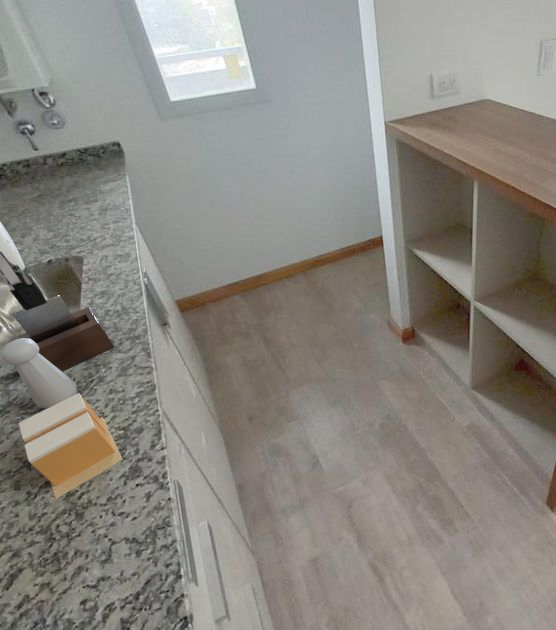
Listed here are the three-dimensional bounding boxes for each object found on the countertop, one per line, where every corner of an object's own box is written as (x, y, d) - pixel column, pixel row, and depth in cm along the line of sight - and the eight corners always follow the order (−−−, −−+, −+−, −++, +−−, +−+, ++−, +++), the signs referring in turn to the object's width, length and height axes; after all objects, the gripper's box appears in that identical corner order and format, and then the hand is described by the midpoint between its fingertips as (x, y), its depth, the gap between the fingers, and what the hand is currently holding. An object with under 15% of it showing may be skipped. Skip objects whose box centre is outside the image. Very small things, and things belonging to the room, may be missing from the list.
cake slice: (55, 486, 60) (28, 461, 56) (50, 470, 62) (24, 444, 58) (115, 451, 64) (93, 426, 60) (108, 437, 66) (87, 411, 62)
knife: (40, 351, 78) (-12, 286, 69) (38, 346, 79) (-13, 281, 71) (84, 332, 82) (40, 268, 73) (81, 327, 83) (38, 264, 74)
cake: (58, 502, 59) (27, 474, 55) (43, 453, 66) (14, 424, 61) (125, 462, 63) (101, 433, 59) (105, 419, 70) (81, 391, 66)
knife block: (45, 379, 78) (24, 355, 74) (38, 359, 82) (18, 335, 79) (114, 347, 84) (98, 323, 80) (104, 330, 88) (88, 306, 84)
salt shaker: (58, 420, 70) (5, 362, 62) (35, 411, 72) (-19, 353, 64) (91, 393, 75) (45, 336, 66) (68, 385, 76) (22, 328, 68)
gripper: (-75, 194, 67) (1, 293, 78) (-72, 226, 57) (15, 333, 69) (-14, 180, 71) (50, 276, 82) (-2, 207, 61) (69, 311, 73)
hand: (34, 301), depth 75 cm, fingers closed on knife, 2 cm apart
